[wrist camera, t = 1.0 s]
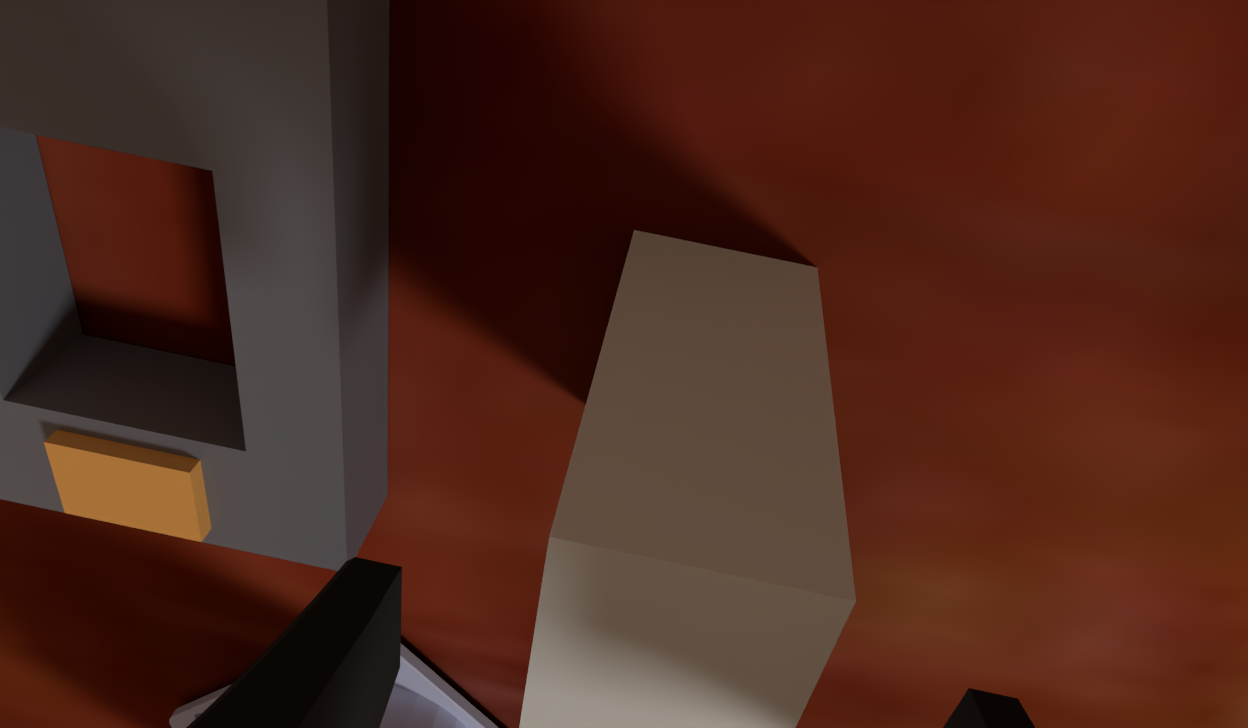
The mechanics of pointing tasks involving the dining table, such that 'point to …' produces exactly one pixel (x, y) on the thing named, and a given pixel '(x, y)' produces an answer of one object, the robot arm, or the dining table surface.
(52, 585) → the dining table surface
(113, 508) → the power strip
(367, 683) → the robot arm
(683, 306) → the plug
